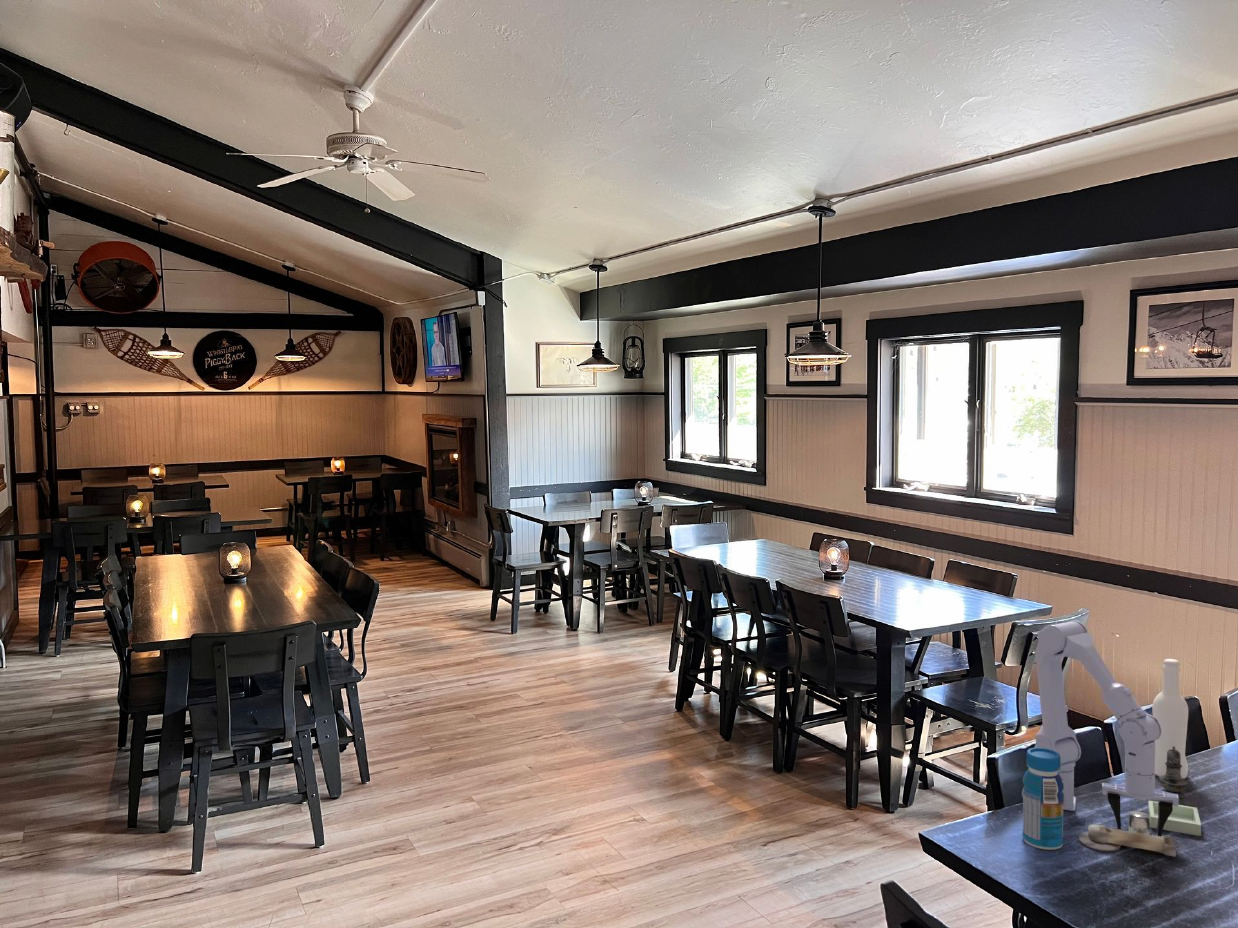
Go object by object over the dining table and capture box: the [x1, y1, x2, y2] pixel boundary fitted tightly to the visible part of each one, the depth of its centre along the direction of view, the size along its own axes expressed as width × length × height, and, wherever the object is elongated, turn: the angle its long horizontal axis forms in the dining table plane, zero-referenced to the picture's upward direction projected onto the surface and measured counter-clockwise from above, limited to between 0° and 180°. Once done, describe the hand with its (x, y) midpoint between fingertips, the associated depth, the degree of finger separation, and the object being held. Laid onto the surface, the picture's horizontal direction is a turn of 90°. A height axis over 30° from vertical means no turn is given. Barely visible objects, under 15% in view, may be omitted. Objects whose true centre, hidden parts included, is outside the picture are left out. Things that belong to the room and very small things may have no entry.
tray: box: [1147, 800, 1202, 837], centre depth 205 cm, size 10×10×2 cm
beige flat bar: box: [1087, 824, 1177, 857], centre depth 194 cm, size 16×5×2 cm, turn 62°
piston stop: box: [1128, 810, 1151, 835], centre depth 199 cm, size 4×4×5 cm
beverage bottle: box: [1021, 747, 1065, 851], centre depth 197 cm, size 8×8×20 cm
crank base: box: [1078, 830, 1121, 852], centre depth 197 cm, size 8×8×1 cm
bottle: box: [1151, 658, 1189, 780], centre depth 231 cm, size 8×8×30 cm
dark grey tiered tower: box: [1158, 746, 1188, 800], centre depth 220 cm, size 6×6×12 cm
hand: (1139, 830), depth 199 cm, fingers open, 7 cm apart
